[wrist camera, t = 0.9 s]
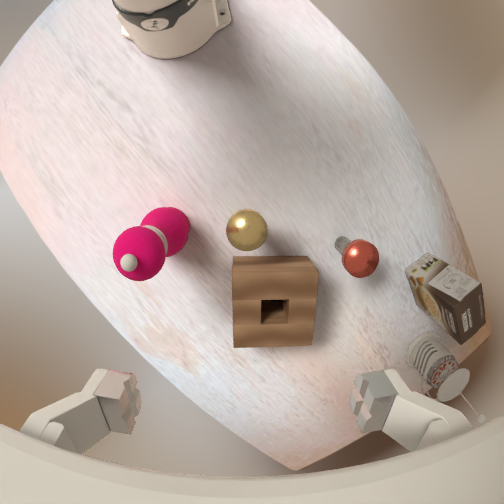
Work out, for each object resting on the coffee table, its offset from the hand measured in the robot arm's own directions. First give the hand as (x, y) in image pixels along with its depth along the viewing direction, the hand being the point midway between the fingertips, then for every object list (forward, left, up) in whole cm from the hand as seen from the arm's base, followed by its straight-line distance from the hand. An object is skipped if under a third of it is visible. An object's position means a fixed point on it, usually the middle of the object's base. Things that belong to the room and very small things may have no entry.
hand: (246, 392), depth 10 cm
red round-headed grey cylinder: (+4, +17, -38) cm, 42 cm away
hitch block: (+12, +5, -38) cm, 40 cm away
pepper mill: (+1, -11, -38) cm, 40 cm away
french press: (+29, +40, -39) cm, 62 cm away
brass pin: (0, +1, -38) cm, 38 cm away
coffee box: (+11, +35, -39) cm, 53 cm away
